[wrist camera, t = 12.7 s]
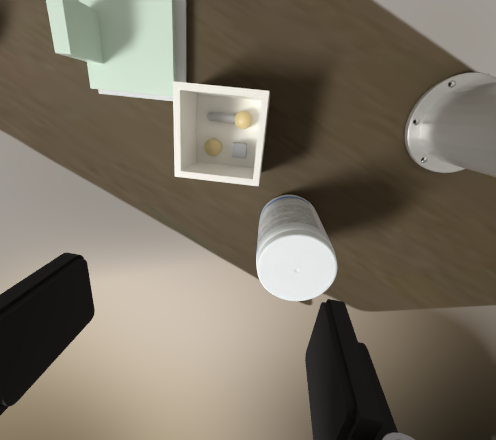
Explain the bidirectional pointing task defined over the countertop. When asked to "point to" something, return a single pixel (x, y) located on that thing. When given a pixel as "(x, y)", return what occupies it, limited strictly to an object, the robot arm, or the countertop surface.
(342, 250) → the countertop surface
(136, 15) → the lid
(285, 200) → the supplement tub
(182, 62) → the mat
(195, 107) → the parts tub
